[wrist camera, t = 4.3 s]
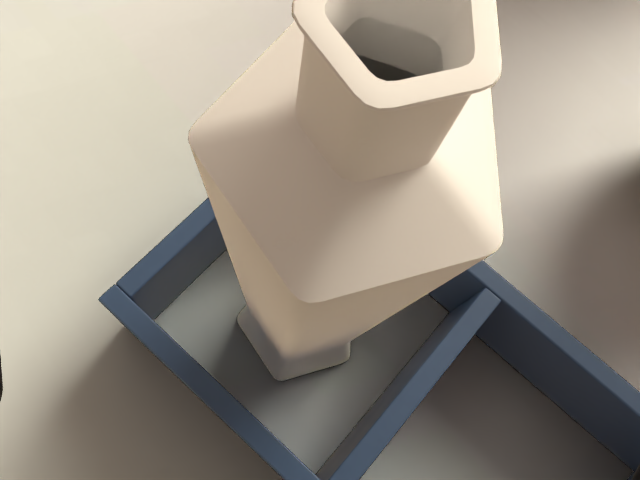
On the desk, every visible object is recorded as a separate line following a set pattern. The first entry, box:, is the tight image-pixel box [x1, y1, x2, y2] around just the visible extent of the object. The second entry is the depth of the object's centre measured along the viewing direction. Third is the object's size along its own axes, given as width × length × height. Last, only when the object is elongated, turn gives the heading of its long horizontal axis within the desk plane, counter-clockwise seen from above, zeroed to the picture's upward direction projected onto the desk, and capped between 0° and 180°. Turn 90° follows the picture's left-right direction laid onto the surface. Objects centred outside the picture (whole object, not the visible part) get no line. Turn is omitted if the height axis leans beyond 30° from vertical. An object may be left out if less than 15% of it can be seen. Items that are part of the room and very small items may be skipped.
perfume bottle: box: [188, 0, 503, 381], centre depth 13 cm, size 5×4×15 cm
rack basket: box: [98, 197, 640, 480], centre depth 18 cm, size 8×16×4 cm, turn 48°
